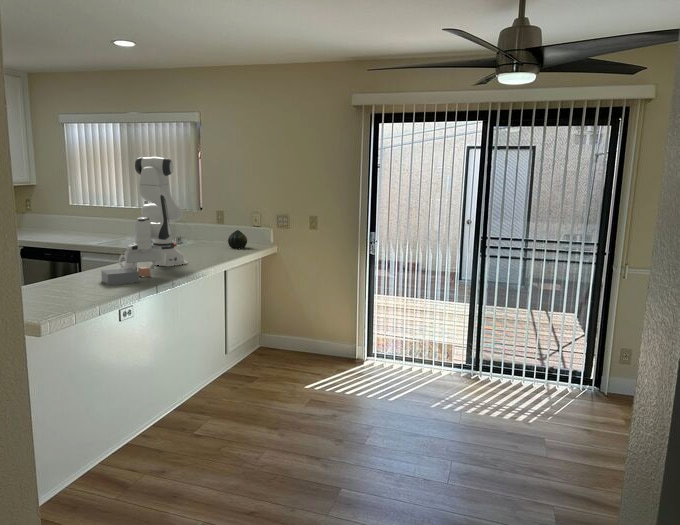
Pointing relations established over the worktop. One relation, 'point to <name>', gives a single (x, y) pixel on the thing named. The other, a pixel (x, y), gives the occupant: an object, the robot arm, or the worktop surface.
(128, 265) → the mug
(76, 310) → the worktop surface
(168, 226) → the robot arm
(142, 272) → the cube
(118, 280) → the stand
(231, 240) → the squash
